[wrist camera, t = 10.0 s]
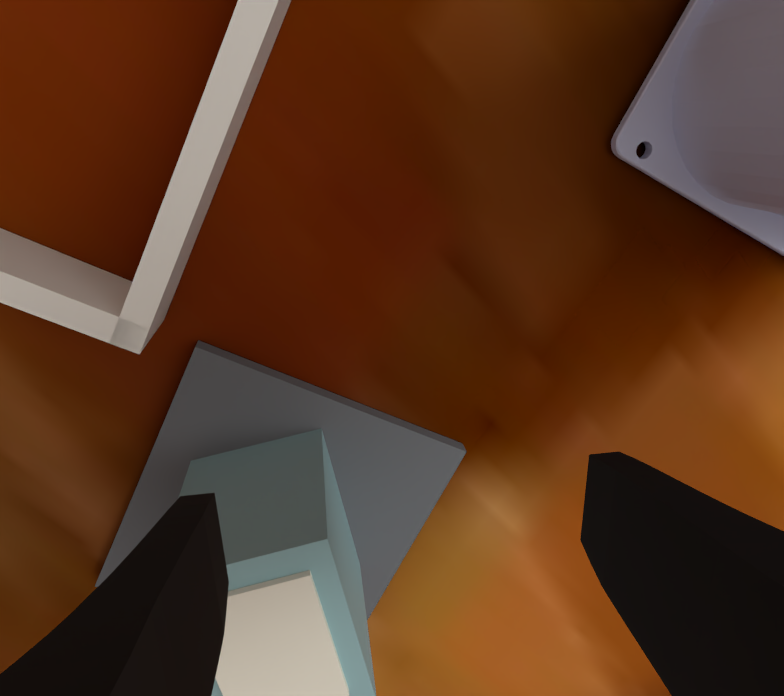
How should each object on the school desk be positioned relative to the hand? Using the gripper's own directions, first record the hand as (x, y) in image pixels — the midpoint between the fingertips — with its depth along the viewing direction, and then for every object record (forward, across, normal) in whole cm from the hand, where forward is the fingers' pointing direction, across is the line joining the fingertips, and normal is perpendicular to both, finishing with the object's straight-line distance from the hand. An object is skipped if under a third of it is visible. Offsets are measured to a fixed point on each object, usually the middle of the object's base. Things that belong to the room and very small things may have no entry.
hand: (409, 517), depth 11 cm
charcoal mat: (+9, +3, +6) cm, 12 cm away
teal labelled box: (+9, +3, +6) cm, 11 cm away
